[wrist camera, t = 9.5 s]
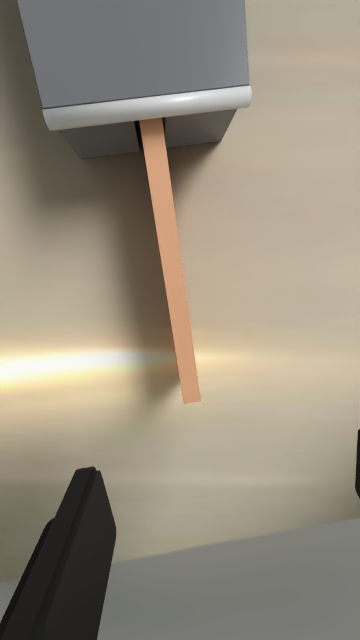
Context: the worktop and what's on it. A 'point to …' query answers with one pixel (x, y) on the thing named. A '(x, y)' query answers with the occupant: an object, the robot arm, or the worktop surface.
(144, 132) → the wooden craft stick
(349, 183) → the worktop surface
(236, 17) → the grey rectangular block
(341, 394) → the worktop surface
